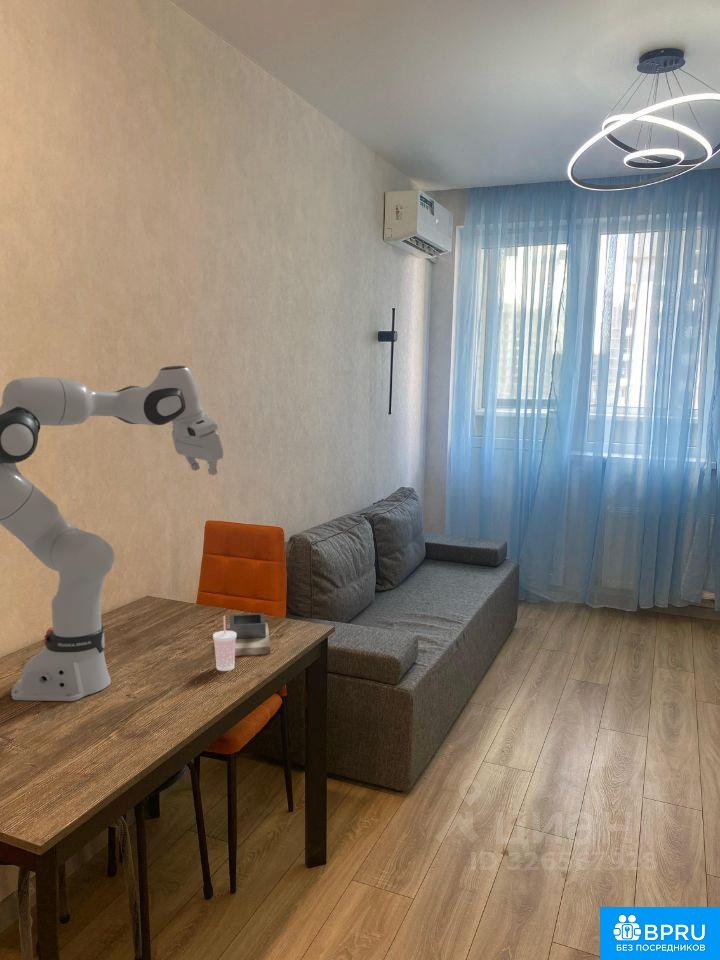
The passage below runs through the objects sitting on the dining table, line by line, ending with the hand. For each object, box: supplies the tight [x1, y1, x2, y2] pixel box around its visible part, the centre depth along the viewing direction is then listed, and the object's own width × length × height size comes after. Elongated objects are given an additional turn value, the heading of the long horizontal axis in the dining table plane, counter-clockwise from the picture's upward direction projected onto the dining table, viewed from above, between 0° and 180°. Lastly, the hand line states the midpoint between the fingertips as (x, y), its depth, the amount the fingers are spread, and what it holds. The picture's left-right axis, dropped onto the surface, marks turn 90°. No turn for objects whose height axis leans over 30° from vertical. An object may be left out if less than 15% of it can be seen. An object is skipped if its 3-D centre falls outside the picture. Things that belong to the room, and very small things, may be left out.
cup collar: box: [229, 612, 266, 639], centre depth 215 cm, size 10×10×4 cm
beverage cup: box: [212, 615, 237, 672], centre depth 194 cm, size 6×6×14 cm
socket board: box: [226, 622, 272, 657], centre depth 214 cm, size 12×20×2 cm, turn 9°
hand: (204, 471), depth 205 cm, fingers open, 8 cm apart
